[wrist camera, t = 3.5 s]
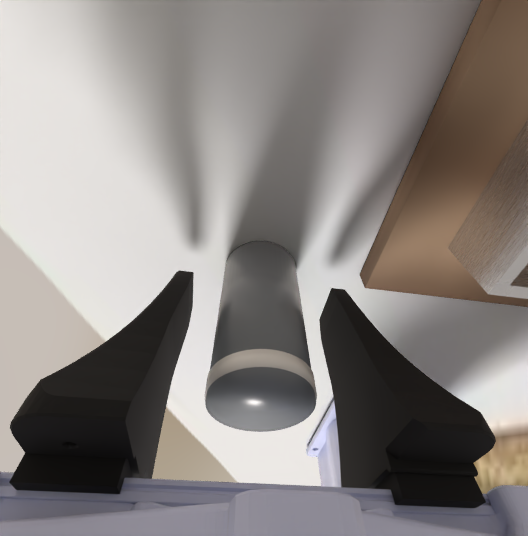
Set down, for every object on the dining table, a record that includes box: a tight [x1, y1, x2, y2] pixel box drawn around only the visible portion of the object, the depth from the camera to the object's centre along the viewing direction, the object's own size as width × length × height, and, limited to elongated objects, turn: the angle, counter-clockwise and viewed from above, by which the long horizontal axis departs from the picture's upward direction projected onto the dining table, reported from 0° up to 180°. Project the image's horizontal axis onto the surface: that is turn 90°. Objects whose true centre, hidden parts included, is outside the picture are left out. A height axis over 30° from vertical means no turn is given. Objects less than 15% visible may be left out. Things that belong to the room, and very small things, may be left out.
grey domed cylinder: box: [205, 241, 317, 432], centre depth 13 cm, size 4×4×7 cm
